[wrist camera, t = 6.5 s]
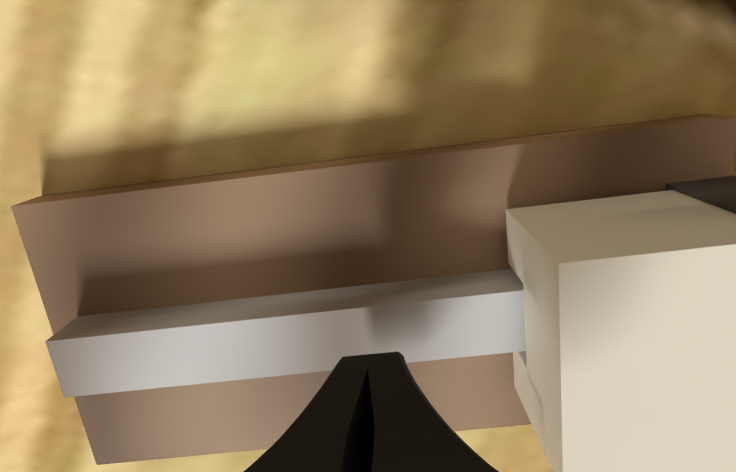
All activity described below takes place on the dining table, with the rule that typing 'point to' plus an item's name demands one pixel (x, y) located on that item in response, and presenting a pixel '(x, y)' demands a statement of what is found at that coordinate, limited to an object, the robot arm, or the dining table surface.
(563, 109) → the dining table surface
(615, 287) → the slider
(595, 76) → the dining table surface
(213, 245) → the rail board
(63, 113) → the dining table surface
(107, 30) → the dining table surface
